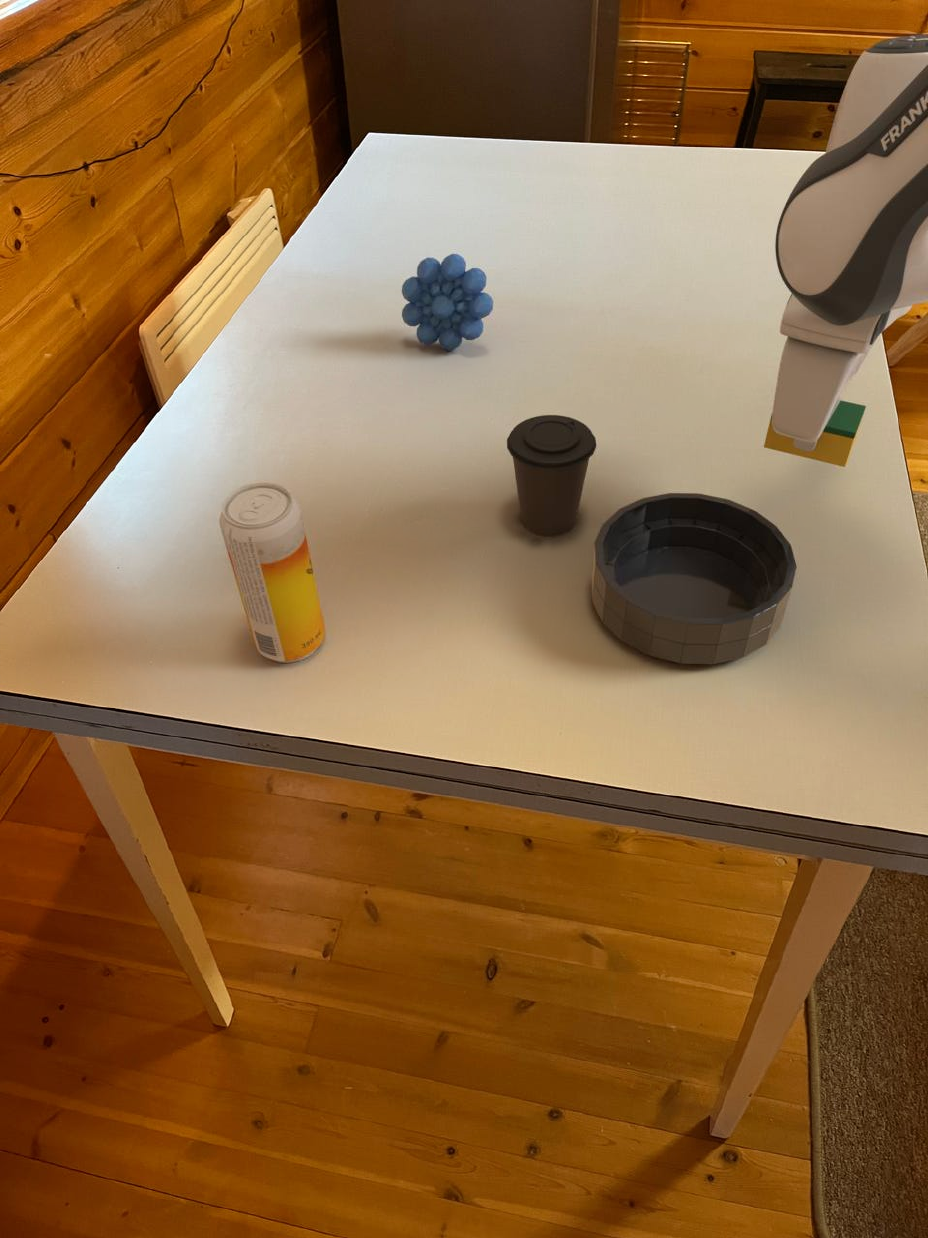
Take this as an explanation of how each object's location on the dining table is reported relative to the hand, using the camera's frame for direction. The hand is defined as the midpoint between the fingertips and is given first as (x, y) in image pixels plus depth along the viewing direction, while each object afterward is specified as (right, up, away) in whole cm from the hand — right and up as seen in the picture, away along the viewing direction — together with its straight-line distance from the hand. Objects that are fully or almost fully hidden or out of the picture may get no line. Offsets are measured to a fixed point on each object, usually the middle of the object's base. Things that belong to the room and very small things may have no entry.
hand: (815, 428), depth 81 cm
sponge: (0, -1, +1) cm, 2 cm away
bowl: (-11, -15, +1) cm, 19 cm away
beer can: (-46, -19, -1) cm, 49 cm away
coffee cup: (-22, -7, +9) cm, 25 cm away
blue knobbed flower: (-32, +17, +33) cm, 49 cm away
